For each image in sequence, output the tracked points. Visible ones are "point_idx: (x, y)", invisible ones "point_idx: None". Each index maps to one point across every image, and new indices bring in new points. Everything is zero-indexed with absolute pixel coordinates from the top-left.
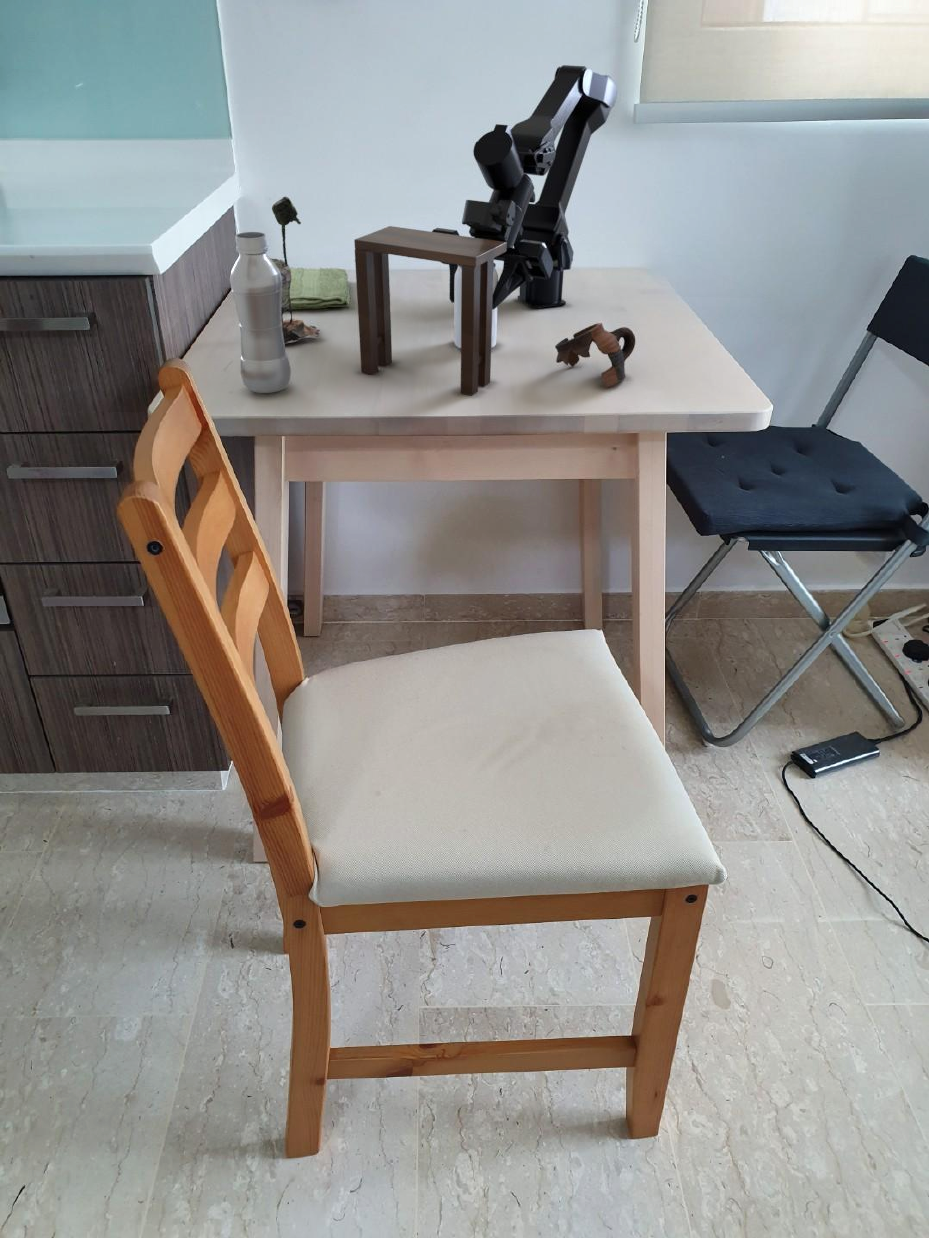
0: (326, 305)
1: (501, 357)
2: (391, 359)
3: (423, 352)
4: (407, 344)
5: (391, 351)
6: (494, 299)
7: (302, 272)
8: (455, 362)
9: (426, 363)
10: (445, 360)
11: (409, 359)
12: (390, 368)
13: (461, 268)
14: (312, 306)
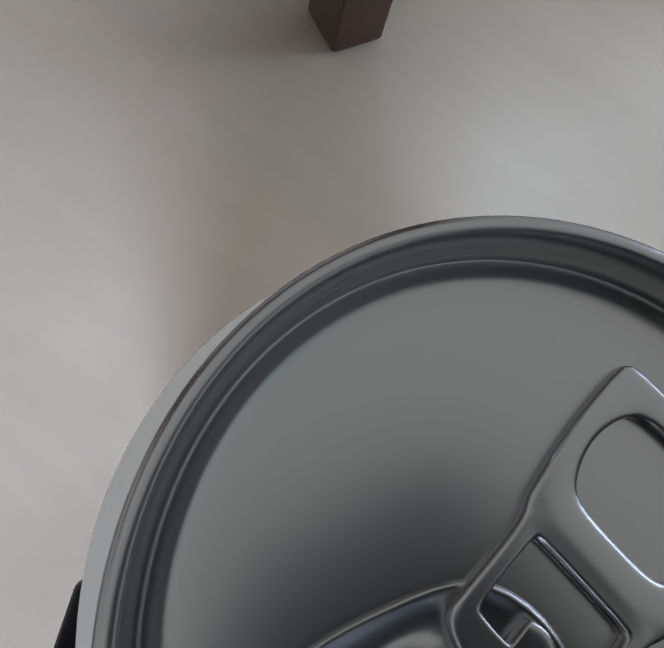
0: None
1: (30, 563)
2: (332, 34)
3: None
4: None
5: (340, 7)
6: (63, 635)
7: None
8: (151, 280)
9: (234, 161)
10: (211, 258)
11: (331, 135)
12: (280, 13)
13: (517, 234)
14: None
